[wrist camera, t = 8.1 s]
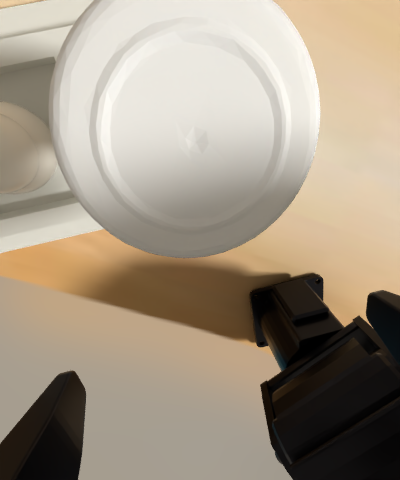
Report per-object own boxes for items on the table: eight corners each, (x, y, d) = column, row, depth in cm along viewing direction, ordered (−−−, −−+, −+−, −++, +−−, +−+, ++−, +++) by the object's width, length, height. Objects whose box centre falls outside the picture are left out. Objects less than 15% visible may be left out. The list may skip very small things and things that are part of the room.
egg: (79, 173, 17) (51, 200, 12) (7, 189, 17) (-51, 223, 12) (49, 94, 15) (0, 88, 10) (-34, 111, 15) (-123, 112, 10)
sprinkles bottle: (147, 168, 18) (132, 301, 6) (109, 91, 16) (-42, 39, 4) (214, 138, 17) (349, 209, 5) (185, 56, 15) (299, -123, 3)
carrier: (251, 189, 20) (264, 200, 18) (0, 247, 19) (-21, 267, 17) (228, -27, 15) (241, -51, 13) (-122, 39, 14) (-177, 26, 12)
